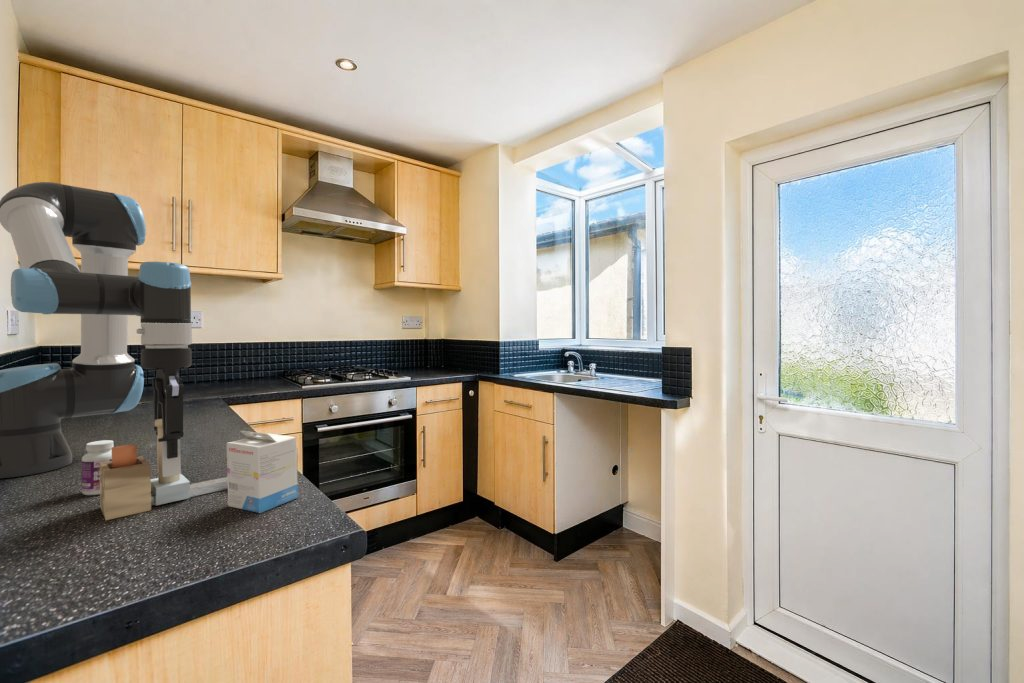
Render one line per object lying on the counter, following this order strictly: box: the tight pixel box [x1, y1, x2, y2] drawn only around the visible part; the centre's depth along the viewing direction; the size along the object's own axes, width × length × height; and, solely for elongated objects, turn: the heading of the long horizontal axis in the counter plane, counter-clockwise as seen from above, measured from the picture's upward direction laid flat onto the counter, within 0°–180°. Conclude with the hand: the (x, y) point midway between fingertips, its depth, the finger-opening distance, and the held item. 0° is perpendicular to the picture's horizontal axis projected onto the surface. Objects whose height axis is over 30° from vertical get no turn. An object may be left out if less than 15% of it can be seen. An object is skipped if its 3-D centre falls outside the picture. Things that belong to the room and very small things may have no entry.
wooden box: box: [99, 455, 152, 521], centre depth 82 cm, size 8×6×8 cm
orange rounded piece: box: [112, 444, 138, 469], centre depth 81 cm, size 3×3×4 cm
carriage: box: [151, 419, 191, 506], centre depth 86 cm, size 7×5×15 cm
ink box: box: [226, 430, 299, 514], centre depth 85 cm, size 9×8×13 cm
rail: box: [151, 476, 228, 507], centre depth 89 cm, size 6×15×3 cm, turn 137°
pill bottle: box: [81, 439, 115, 496], centre depth 90 cm, size 5×5×10 cm
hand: (169, 472), depth 86 cm, fingers closed on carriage, 3 cm apart
